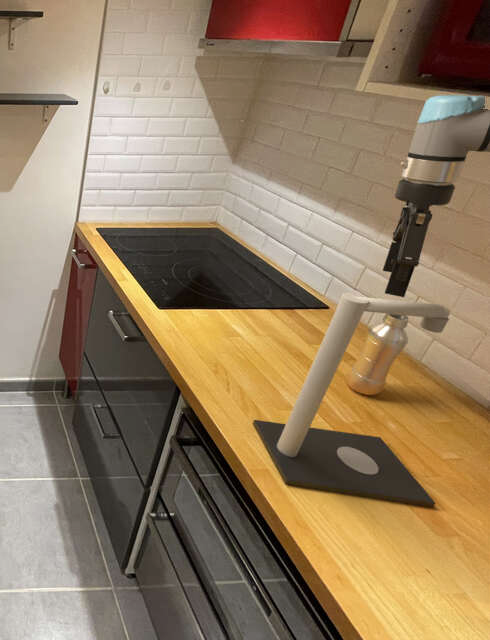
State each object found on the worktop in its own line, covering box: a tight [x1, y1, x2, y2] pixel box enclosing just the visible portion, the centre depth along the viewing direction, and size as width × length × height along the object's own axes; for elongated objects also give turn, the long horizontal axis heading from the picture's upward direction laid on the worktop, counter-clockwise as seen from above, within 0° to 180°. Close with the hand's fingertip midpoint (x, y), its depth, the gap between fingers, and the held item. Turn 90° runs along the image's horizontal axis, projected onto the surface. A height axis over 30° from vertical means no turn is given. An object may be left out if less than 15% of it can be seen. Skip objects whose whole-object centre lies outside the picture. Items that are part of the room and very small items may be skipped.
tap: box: [252, 292, 451, 509], centre depth 77 cm, size 23×14×35 cm, turn 80°
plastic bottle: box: [345, 313, 410, 396], centre depth 98 cm, size 6×7×20 cm
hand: (392, 282), depth 91 cm, fingers open, 13 cm apart
